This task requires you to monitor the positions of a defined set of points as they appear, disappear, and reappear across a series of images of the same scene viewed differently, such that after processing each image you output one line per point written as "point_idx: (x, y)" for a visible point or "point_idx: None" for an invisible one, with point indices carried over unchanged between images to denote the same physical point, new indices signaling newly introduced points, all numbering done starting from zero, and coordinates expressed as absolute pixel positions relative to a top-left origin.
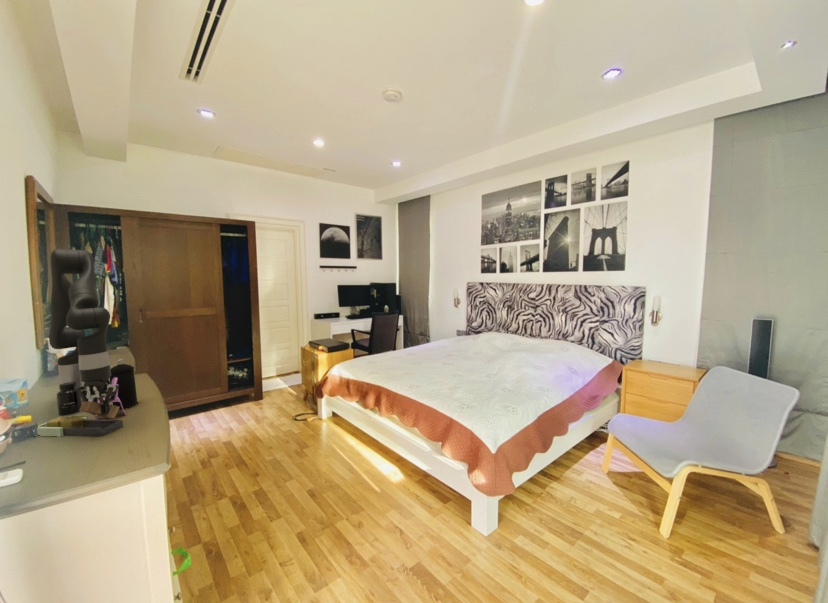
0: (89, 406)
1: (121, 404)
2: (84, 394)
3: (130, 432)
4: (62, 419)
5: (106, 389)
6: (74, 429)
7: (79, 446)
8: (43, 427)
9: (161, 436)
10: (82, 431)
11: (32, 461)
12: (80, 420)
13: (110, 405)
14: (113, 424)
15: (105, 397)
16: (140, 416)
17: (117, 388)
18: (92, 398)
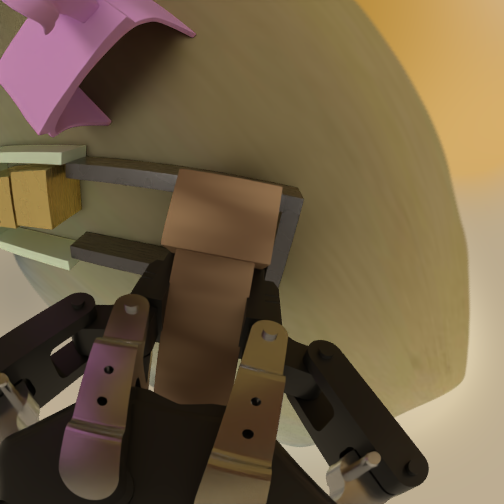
0: None
1: (153, 19)
2: (54, 387)
3: (373, 261)
4: (9, 205)
5: (290, 470)
6: (124, 269)
7: None
8: (12, 248)
9: (466, 302)
10: None
11: None
12: (57, 177)
13: (249, 260)
14: (289, 247)
15: (305, 425)
16: (300, 58)
17: (414, 448)
18: (147, 386)
